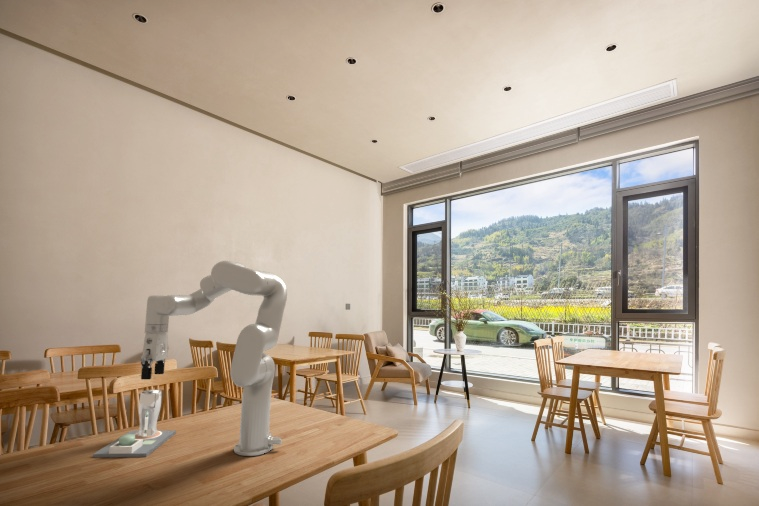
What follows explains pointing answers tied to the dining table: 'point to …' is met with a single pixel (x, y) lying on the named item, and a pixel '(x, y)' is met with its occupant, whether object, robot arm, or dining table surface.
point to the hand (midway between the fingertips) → (152, 376)
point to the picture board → (135, 446)
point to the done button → (126, 439)
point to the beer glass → (149, 412)
